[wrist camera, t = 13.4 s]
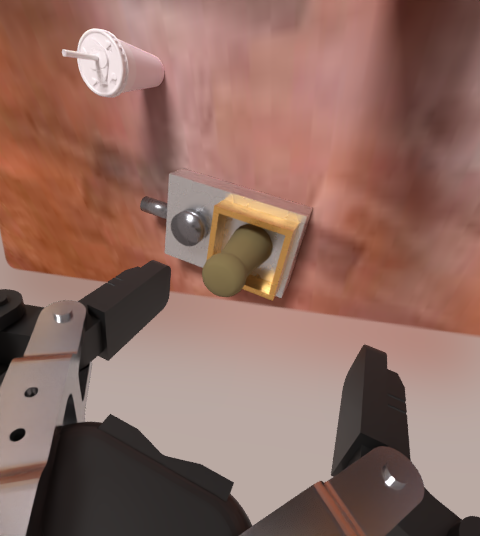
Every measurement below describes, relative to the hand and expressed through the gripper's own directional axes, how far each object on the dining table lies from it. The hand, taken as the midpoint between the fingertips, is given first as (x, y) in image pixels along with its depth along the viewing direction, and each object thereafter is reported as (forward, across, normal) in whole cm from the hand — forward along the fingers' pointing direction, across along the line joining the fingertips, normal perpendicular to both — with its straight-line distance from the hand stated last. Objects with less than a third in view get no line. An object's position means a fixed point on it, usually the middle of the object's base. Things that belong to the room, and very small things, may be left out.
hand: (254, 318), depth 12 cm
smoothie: (+32, +28, -6) cm, 43 cm away
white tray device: (+32, +14, +12) cm, 37 cm away
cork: (+28, +8, +12) cm, 32 cm away
